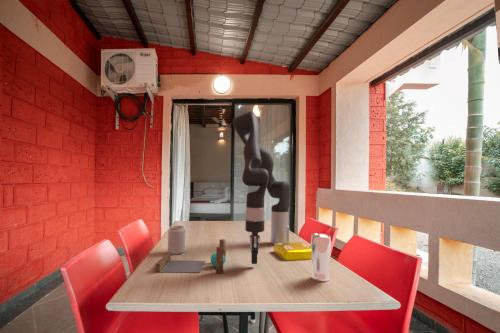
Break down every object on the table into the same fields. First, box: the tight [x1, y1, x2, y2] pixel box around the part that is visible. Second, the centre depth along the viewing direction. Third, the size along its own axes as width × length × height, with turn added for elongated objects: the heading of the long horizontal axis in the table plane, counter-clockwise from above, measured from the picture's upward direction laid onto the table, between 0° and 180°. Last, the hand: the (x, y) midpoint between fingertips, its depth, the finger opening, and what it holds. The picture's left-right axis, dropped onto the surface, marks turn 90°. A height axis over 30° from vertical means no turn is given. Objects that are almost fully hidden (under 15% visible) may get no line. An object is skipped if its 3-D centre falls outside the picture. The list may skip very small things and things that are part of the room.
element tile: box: [273, 241, 312, 262], centre depth 125 cm, size 15×15×5 cm
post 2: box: [215, 246, 224, 275], centre depth 100 cm, size 3×3×9 cm
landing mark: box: [160, 259, 206, 274], centre depth 106 cm, size 14×14×1 cm
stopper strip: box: [155, 252, 172, 274], centre depth 106 cm, size 2×14×3 cm, turn 1°
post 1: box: [218, 238, 227, 264], centre depth 113 cm, size 3×3×9 cm
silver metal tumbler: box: [310, 233, 332, 282], centre depth 96 cm, size 7×7×15 cm
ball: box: [210, 252, 226, 268], centre depth 106 cm, size 6×6×6 cm
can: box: [167, 225, 186, 256], centre depth 125 cm, size 8×8×12 cm
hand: (254, 263), depth 106 cm, fingers closed
